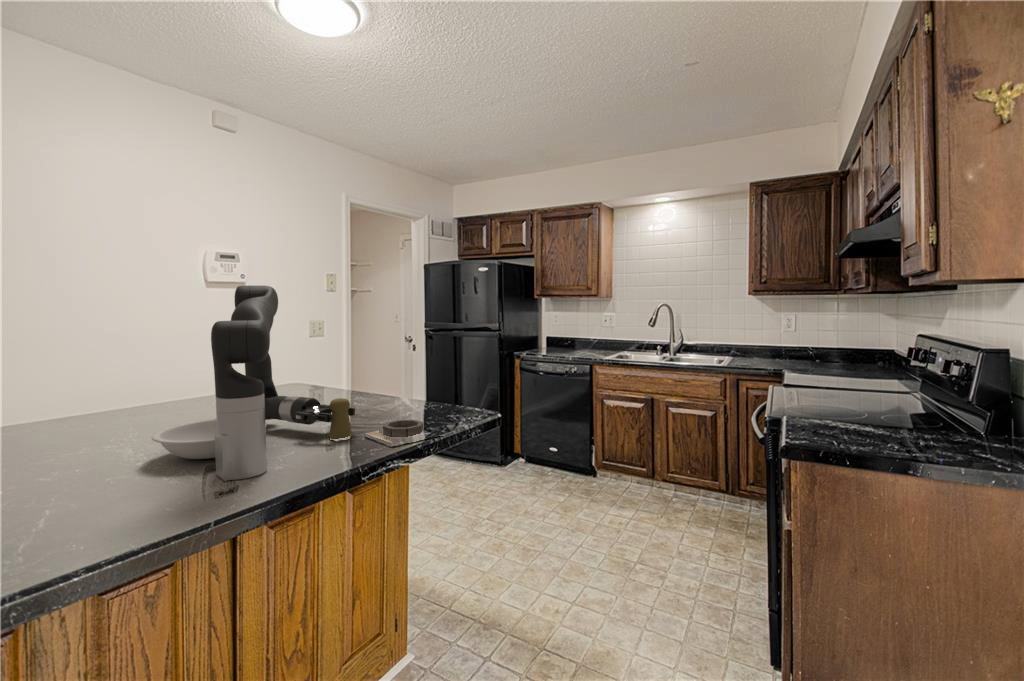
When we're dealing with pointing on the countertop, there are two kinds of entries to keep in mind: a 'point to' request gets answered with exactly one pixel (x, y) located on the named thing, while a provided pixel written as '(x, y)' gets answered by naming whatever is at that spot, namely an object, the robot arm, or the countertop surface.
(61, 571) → the countertop surface
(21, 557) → the countertop surface
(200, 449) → the soup bowl
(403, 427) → the socket board
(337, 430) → the cork
